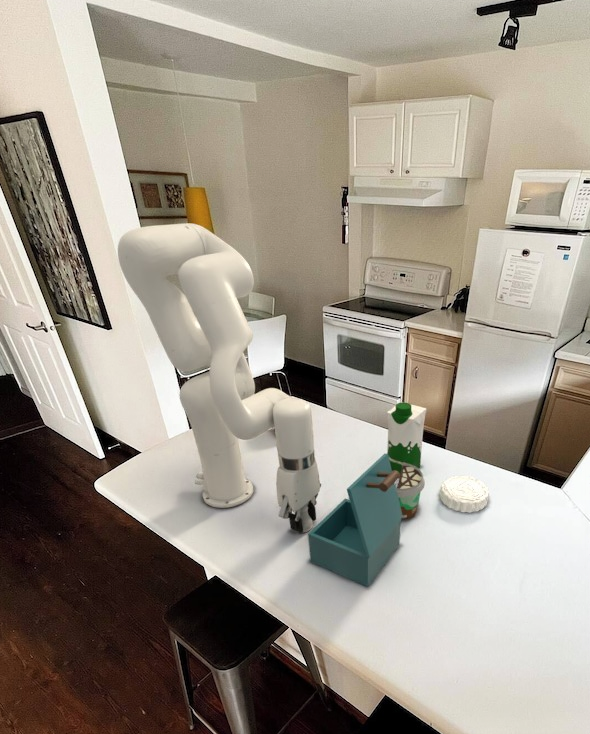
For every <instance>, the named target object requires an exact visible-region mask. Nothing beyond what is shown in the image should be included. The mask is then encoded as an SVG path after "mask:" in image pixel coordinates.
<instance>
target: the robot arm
mask: <svg viewBox="0 0 590 734" xmlns="http://www.w3.org/2000/svg"><path fill="white" fill-rule="evenodd" d="M117 257H118V259H117V260H118V262H119V266H120V269H121V271H122V274H123V276H124V279H125V280H126V282H127V284H128V285H129V287H130V288H131V290H132V292H133V293H134V294H135V295H136V297H137V298H138V300H139V301H140V302H141V305H142V306H143V307H144V309H145V311H146V313H147V314H148V316H149V320H150V322H151V324H152V326H153V327H154V330H155V333H156V334H157V337H158V339H159V341H160V343H161V345H162V348H163V350H164V352H165V354H166V356H167V358H168V359H169V361H170V363H171V364H172V366H173V367H174V368H175V369H176V370H178V371H180V372H191V371H195V370H198V369H201V368H204V367H207V366H209V370H208V371H207V372H204V373H201V374H199V375H196V376H194V377H192V378H190V379H189V380H187V381H186V382H185V383H183V384H182V385H181V388H180V390H179V393H178V395H179V400H180V404H181V406H182V408H183V410H184V412H185V415H186V416H187V419H188V421H189V424H190V427H191V430H192V433H193V437H194V441H195V445H196V449H197V452H198V456H199V460H200V464H201V469H202V471H198V472H196V475H195V476H196V477H195V478H196V479H195V480H194V483H195V485H198V486H202V487H203V490H202V492H201V493H202V494H201V495H202V499H203V501H204V503H205V504H207V505H208V506H210V507H213V508H219V509H220V508H221V509H226V508H232V507H236V506H239V505H241V504H243V503H246V502H247V501H248V500H249V499H250V498H251V497H252V495H253V493H254V484H253V483H252V481H250V479H248V478H246V475H245V470H244V464H243V459H242V454H241V453H242V452H241V447H240V443H239V440H241V441H248V440H252V439H254V438H256V437H258V436H260V435H262V434H263V433H266V432H267V431H269V430H271V429H272V428H275V431H274V435H275V441H276V448H277V449H276V450H277V457H278V458H277V459H278V465H279V466H278V468H277V471H276V485H275V486H276V499H277V500H276V501H277V505H278V507H280V509H279V513H278V517H279V518H281V519H284V520H286V519H289V520H288V521H289V527H290V530H291V531H294V532H297V533H298V534H302V533H304V532H303V525H302V519H301V518H300V509H301V508H302V507H303V506H304V505H305V504H307V503H308V502H309V503H308V505H307V506H308V515H309V516H310V518H311V519H312V521H313V522H315V521H316V520H317V513H316V506H317V498H318V495H319V492H320V490H321V488H322V483H321V479H320V474H319V473H320V472H319V467H318V463H317V459H316V456H315V455H316V454H315V443H314V442H315V441H314V429H313V415H312V413H313V412H312V408H311V405H310V403H309V402H308V401H306V400H304V399H302V398H296V397H292V396H291V395H289V394H287V393H285V392H284V391H282V390H280V389H278V388H275V387H269V388H265V389H263V390H260V391H258V392H257V393H256V383H255V380H254V377H253V374H252V372H251V369H250V366H249V364H248V361H247V358H246V355H245V353H244V352H245V350H247V348H248V347H249V346H250V344H251V343H252V341H253V338H254V334H253V331H252V329H251V327H250V324H249V322H248V320H247V318H246V316H245V314H244V312H243V309H242V306H241V305H240V302H239V301H238V299H241V298H244V297H245V298H246V297H247V296H248V295H250V294H251V293H252V291H253V289H254V286H255V279H254V274H253V270H252V269H251V267H250V265H249V263H248V261H247V259H245V258H244V256H243V255H242V254H241V253H239V251H237V250H236V249H235V248H234V247H233V246H231V245H230V244H229V243H227V242H225V241H224V240H223V239H222V238H220V237H218V236H217V235H216V234H214V233H213V232H211V231H210V230H209V229H207V228H206V227H204V226H202V225H199V224H196V223H192V222H191V223H190V222H189V223H188V222H186V223H184V222H183V223H173V224H157V225H148V226H141V227H136V228H133V229H130V230H128V231H126V232H124V234H123V235H122V236H121V237H120V239H119V240H118V244H117ZM173 275H177V276H178V282H179V285H180V288H181V289H180V288H179V287H178V286H176V284H174V283H173V282H172V281H170V280H168V279H167V277H169V276H173Z"/></svg>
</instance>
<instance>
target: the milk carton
mask: <svg viewBox="0 0 590 734" xmlns="http://www.w3.org/2000/svg"><path fill="white" fill-rule="evenodd" d="M426 414H427V407H422V406H419V405H414V404H411V403H409V402H403V401H401V402H398V403H396V405H394V406H393V407H391V409H389V410H388V411H387V412H386V415H387V423H388V424H387V448H386V449H387V452H386V454H388V456H389V461H390V465H391V469H392V471H393V470H396V471H398V472H399V473H400V474H401V470H402V463H408V464H411V465H413V466H415V467H417V468H418V469H420V467H421V459H422V448H423V438H424V437H423V435H424V424H425V419H426Z"/></svg>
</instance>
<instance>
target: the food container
mask: <svg viewBox="0 0 590 734" xmlns="http://www.w3.org/2000/svg"><path fill="white" fill-rule="evenodd" d="M397 481H398V482H397V484H396V485H397V486H396V490H397V495H398V499H399V503H400V507H401V512H402V516H403V517H402V518H401V521H407V520H411V519H412V518H414V517H415V516H416V515H417V513H418V508H419V503H420V497H421V492H422V491H423V490H424V488H425V484H426V483H425V477H424V475H423V472H422V471H421V470H420V468H417V467H415V466H413V465H411V464H408V463H402V470H401V474H400V477H399V478H398V480H397Z"/></svg>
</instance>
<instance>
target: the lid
mask: <svg viewBox="0 0 590 734" xmlns="http://www.w3.org/2000/svg"><path fill="white" fill-rule="evenodd" d="M399 477H400V473H399V472H398V471H396V470H393V471H392V469H391V465H390V461H389V456H388V454H387V453H383V454H382V455H381V456H380V457H379V458H378V459H377V460H376V461H375V462H374V463H373V464H371V465H370V467H368V468H367V469H366V470H365V471H364V472H363V473H362V474H361V475H360V476H359V477H357V479H356V480H355V481H354V482H352V484H350V485H349V486H348V487H347V488H346V492H347V495H348V498H349V499H348V500H350V502H351V506H352V509H353V513H354V516H355V520H356V523H357V526H358V530H359V533H360V537H361V540H362V544H363V547H364V550H365V554H366V557H370V556H371V555H372V554H373V553H374V551H375V550H376V549H377V548H378V546H379V545H380V544H381V543H382V542H383V540H384V539H385V538H386V537H387V535H388V534H389V533H390V532H391V531H392V529H393V528H394V527H395V526H396V524H397V523H398V522H399V521H400V519H401V518H402V517H403V516H402V512H401V507H400V503H399V499H398V495H397V490H396V488H397V486H396V482H397V481H399Z"/></svg>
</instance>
